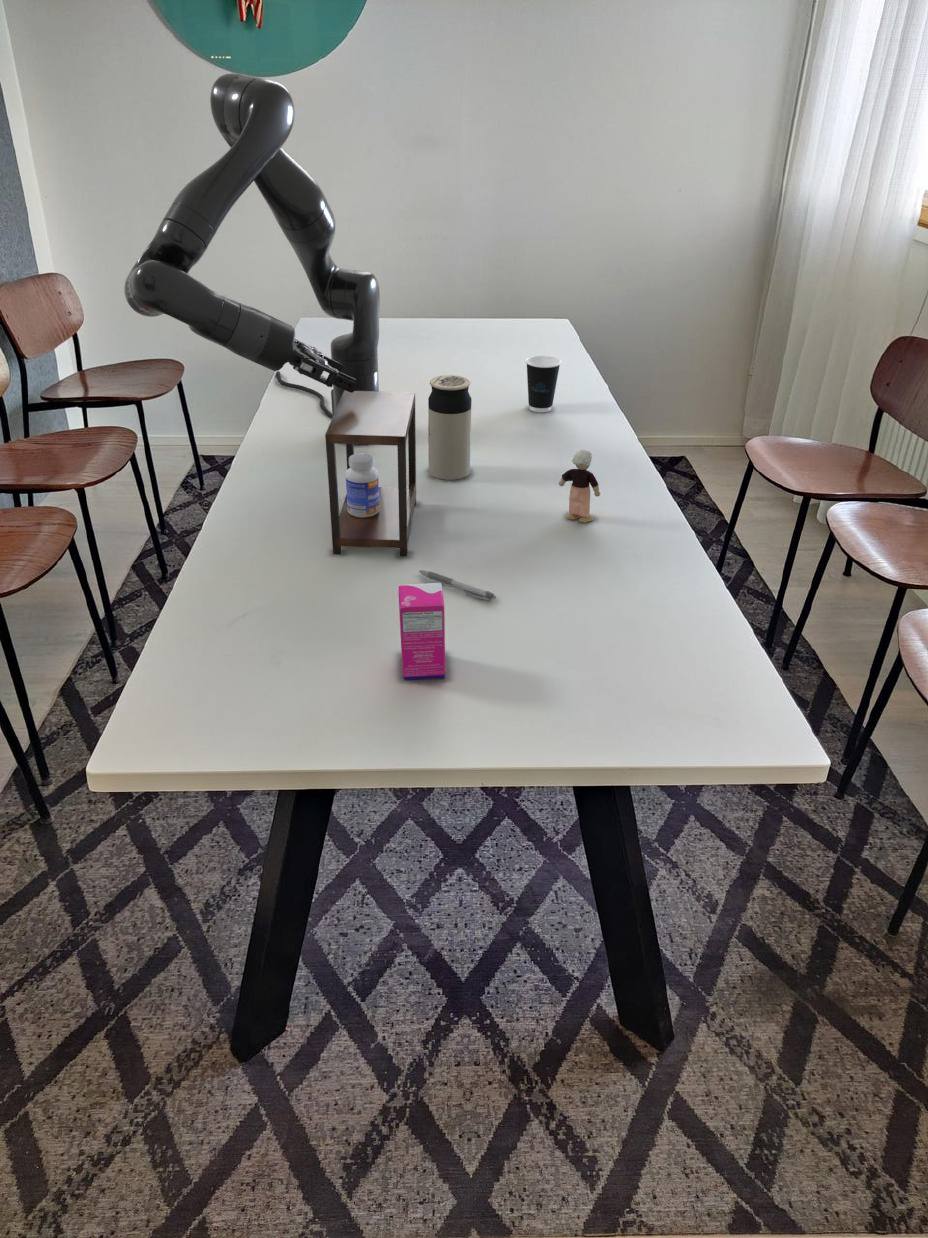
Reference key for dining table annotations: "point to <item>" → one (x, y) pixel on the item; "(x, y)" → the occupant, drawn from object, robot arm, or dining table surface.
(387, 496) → the shelf
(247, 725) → the dining table surface
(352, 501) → the pill bottle
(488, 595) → the pen
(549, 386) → the dixie cup
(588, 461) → the grandmother figurine
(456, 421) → the travel mug
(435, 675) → the supplement box
